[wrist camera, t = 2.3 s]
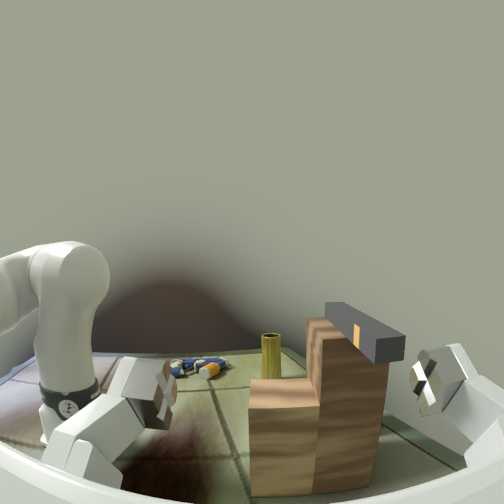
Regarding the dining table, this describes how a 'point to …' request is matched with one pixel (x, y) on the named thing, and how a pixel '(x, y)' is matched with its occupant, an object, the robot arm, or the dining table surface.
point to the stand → (317, 420)
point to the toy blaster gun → (199, 366)
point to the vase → (271, 356)
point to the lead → (366, 333)
